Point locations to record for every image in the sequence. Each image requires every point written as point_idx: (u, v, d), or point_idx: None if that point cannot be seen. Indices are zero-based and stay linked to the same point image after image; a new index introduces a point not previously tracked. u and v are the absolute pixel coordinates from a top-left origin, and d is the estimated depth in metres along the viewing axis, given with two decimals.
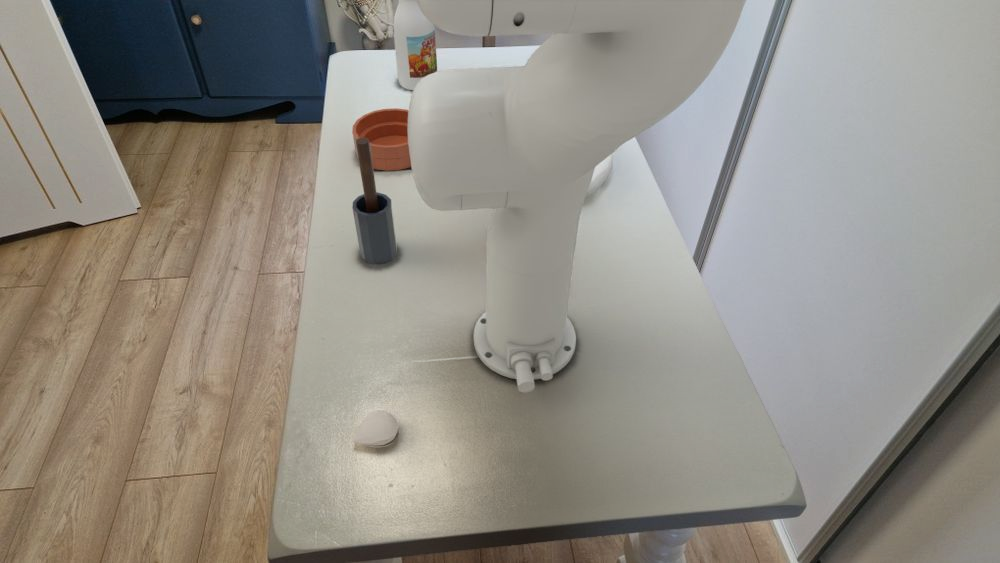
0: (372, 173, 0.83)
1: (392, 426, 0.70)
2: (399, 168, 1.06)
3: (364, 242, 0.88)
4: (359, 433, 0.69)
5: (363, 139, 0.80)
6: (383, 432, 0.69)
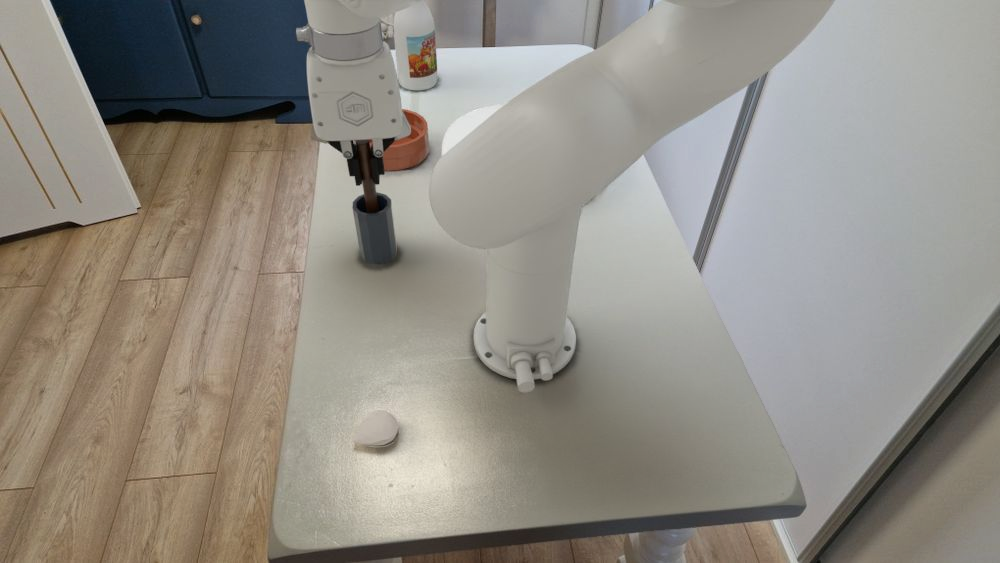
0: None
1: (392, 426, 0.70)
2: (399, 168, 1.06)
3: (364, 242, 0.88)
4: (359, 433, 0.69)
5: None
6: (383, 432, 0.69)
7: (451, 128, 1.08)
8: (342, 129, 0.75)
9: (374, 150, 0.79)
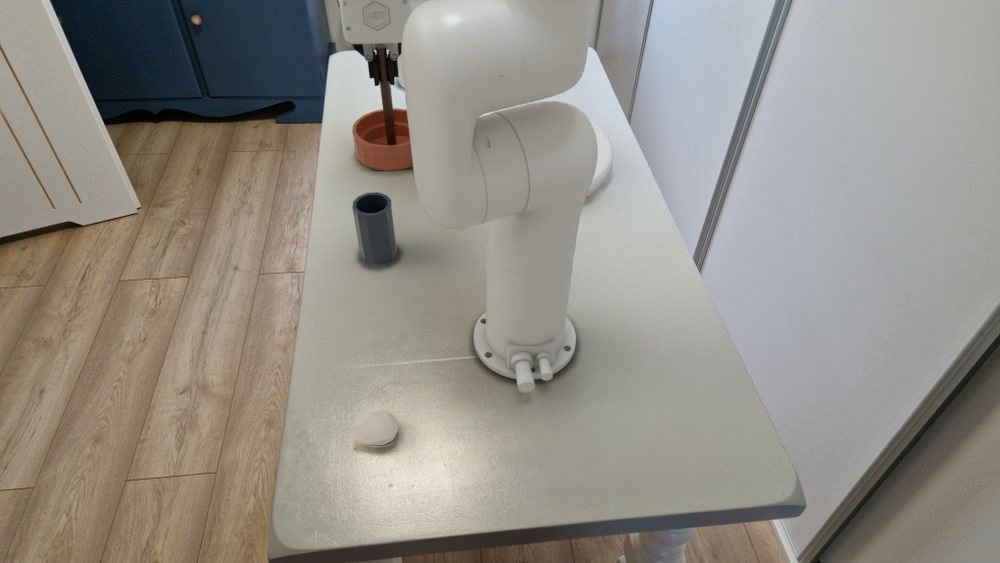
0: (388, 75, 1.01)
1: (392, 426, 0.70)
2: (399, 168, 1.06)
3: (364, 242, 0.88)
4: (359, 433, 0.69)
5: (381, 45, 0.99)
6: (383, 432, 0.69)
7: None
8: (365, 33, 0.94)
9: (391, 54, 0.98)
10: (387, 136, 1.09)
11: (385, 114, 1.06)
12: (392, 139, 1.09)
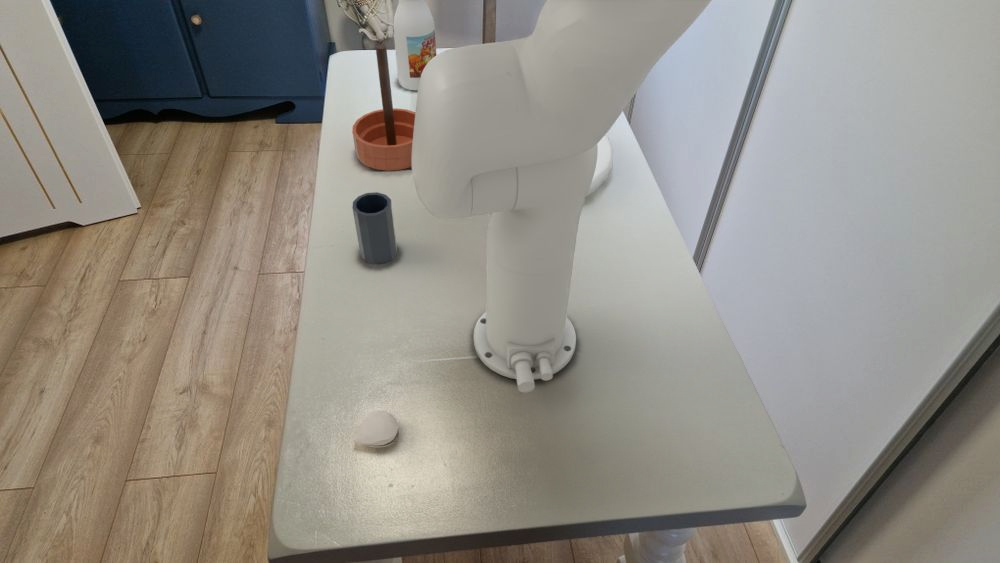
0: (388, 75, 1.01)
1: (392, 426, 0.70)
2: (399, 168, 1.06)
3: (364, 242, 0.88)
4: (359, 433, 0.69)
5: (381, 45, 0.99)
6: (383, 432, 0.69)
7: None
8: None
9: None
10: (387, 136, 1.09)
11: (385, 114, 1.06)
12: (392, 139, 1.09)
